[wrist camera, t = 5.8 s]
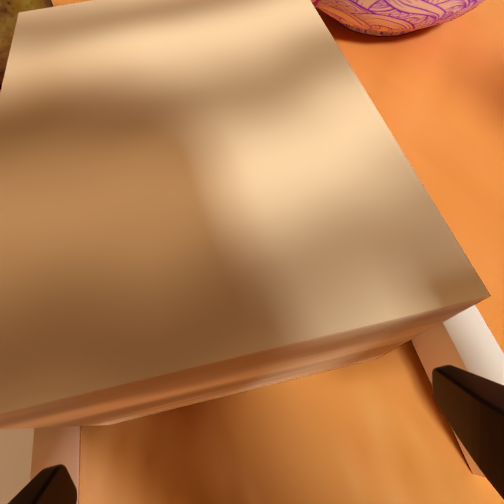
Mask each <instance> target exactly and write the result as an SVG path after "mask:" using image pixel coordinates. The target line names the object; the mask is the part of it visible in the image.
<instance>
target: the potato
mask: <svg viewBox="0 0 504 504" xmlns="http://www.w3.org/2000/svg"><path fill="white" fill-rule="evenodd" d="M49 7H53V4H52V2H51V0H0V84H1V83H2V82H3V79H4V75H5V70H6V66H7V61H8V57H9V53H10V48H11V44H12V40H13V35H14V31H15V27H16V22H17V18H18V14H19V12H25V11H31V10H37V9H43V8H49Z"/></svg>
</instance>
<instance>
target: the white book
mask: <svg viewBox="0 0 504 504" xmlns="http://www.w3.org/2000/svg"><path fill="white" fill-rule="evenodd" d="M411 341H412V343H413V346H414V348H415V350H416V352H417V354H418V356H419V359H420V361H421V363H422V365H423V367H424V369H425V372H426V374H427V376H428V378H429V380H430V382H431V385H432V371H433V369H434V368H436V367H440V366H444V365H452V366H455V367H458V368H460V369H463V370H466V371H468V372H471V373H473V374H476V375H479V376H481V377H484V378H486V379H489V380H491V381H494V382H497V383H499V384H502V385H504V354H503V352H502V350H501V348H500V347H499V345H498V343H497V342H496V340H495V338H494V336H493V335H492V333H491V331H490V330H489V328H488V326H487V324H486V323H485V321H484V319H483V318H482V316H481V314H480V313H479V311H478V309H477V307H476V306H475V305H473V306H471V307H470V308H468V309H466V310H464V311H462V312H460V313H459V314H457V315H455V316H453V317H451V318H450V319H448V320H446V321H444V322H442V323H441V324H439V325H437V326H435V327H433V328H432V329H430V330H428V331H426V332H424V333H422V334H421V335H419V336H417V337H415V338H413V339H412V340H411ZM452 430H453V429H452ZM453 432H454V431H453ZM454 435H455V437H456V439H457V441H458V443H459V445H460V448H461V450H462V452H463V454H464V456H465V458H466V461H467V463H468V465H469V467H470V469H471V471H472V474H475V475H479V476H482V477H485V475H484V474H483V473H482V471H481V470H480V469H479V468H478V466H477V465H476V463H475V462H474V460H473V459H472V458H471V456H470V455H469V453H468V452H467V450H466V449H465V447H464V446H463V444H462V443H461V441H460V440H459V438H458V437H457V435H456V434H455V432H454ZM79 452H80V426H73V427H48V428H23V429H0V504H8V503H9V502H10V501H11V500H12V499H13V498H14V497H15V496H16V495H17V494H18V493H19V492H20V491H21V490H22V489H23V488H24V487H25V486H26V485H27V484H28V483H29V482H30V481H31V480H32V479H33V478H34V477H35V476H36V475H37V474H38V473H39V472H40V471H41V470H43V469H44V468H47V467H50V466H54V465H58V464H63V465H64V466H66V468H67V470H68V472H69V474H70V476H71V478H72V480H73V482H74V484H75V486H76V489H77V503H76V504H78V497H79Z"/></svg>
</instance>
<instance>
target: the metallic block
mask: <svg viewBox="0 0 504 504" xmlns="http://www.w3.org/2000/svg"><path fill="white" fill-rule="evenodd" d="M489 296H491V295H490V294H489V292H488V290H487V289H486V287H485V285H484V284H483V282H482V281H481V279H480V277H479V276H478V274H477V272H476V271H475V269H474V267H473V266H472V264H471V263H470V261H469V259H468V258H467V256H466V254H465V253H464V251H463V249H462V248H461V246H460V245H459V243H458V241H457V240H456V238H455V236H454V235H453V233H452V231H451V230H450V228H449V227H448V225H447V223H446V222H445V220H444V218H443V217H442V215H441V213H440V212H439V210H438V209H437V207H436V205H435V204H434V202H433V200H432V199H431V197H430V195H429V194H428V192H427V191H426V189H425V187H424V186H423V184H422V182H421V181H420V179H419V177H418V176H417V174H416V173H415V171H414V169H413V168H412V166H411V164H410V163H409V161H408V159H407V158H406V156H405V155H404V153H403V151H402V150H401V148H400V146H399V145H398V143H397V141H396V140H395V138H394V137H393V135H392V133H391V132H390V130H389V128H388V127H387V125H386V123H385V122H384V120H383V118H382V117H381V115H380V114H379V112H378V110H377V109H376V107H375V105H374V104H373V102H372V100H371V99H370V97H369V96H368V94H367V92H366V91H365V89H364V87H363V86H362V84H361V82H360V81H359V79H358V78H357V76H356V74H355V73H354V71H353V69H352V68H351V66H350V64H349V63H348V61H347V60H346V58H345V56H344V55H343V53H342V51H341V50H340V48H339V46H338V45H337V43H336V42H335V40H334V38H333V37H332V35H331V33H330V32H329V30H328V28H327V27H326V25H325V24H324V22H323V20H322V19H321V17H320V15H319V14H318V12H317V10H316V9H315V7H314V6H313V4H312V2H311V1H310V0H92V1H86V2H80V3H74V4H68V5H62V6H55V7H49V8H43V9H37V10H31V11H25V12H19V14H18V18H17V22H16V27H15V31H14V35H13V40H12V44H11V48H10V53H9V57H8V61H7V66H6V70H5V75H4V79H3V83H2V88H1V92H0V429H23V428H48V427H73V426H98V425H111V424H115V423H119V422H123V421H127V420H131V419H135V418H139V417H144V416H148V415H152V414H156V413H160V412H164V411H168V410H172V409H176V408H180V407H184V406H188V405H192V404H196V403H200V402H204V401H208V400H212V399H216V398H220V397H224V396H228V395H232V394H236V393H240V392H244V391H248V390H253V389H257V388H261V387H265V386H269V385H273V384H277V383H281V382H285V381H289V380H293V379H297V378H301V377H305V376H309V375H313V374H317V373H321V372H325V371H329V370H333V369H337V368H341V367H345V366H349V365H353V364H357V363H362V362H366V361H370V360H374V359H377V358H379V357H381V356H383V355H384V354H386V353H388V352H390V351H392V350H394V349H395V348H397V347H399V346H401V345H403V344H404V343H406V342H408V341H410V340H412V339H413V338H415V337H417V336H419V335H421V334H422V333H424V332H426V331H428V330H430V329H432V328H433V327H435V326H437V325H439V324H441V323H442V322H444V321H446V320H448V319H450V318H451V317H453V316H455V315H457V314H459V313H460V312H462V311H464V310H466V309H468V308H470V307H471V306H473V305H475V304H477V303H479V302H480V301H482V300H484V299H486V298H488V297H489Z"/></svg>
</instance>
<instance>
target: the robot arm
mask: <svg viewBox="0 0 504 504" xmlns="http://www.w3.org/2000/svg"><path fill="white" fill-rule="evenodd" d="M432 394H433V399H434V401H435V403H436V405H437V407H438V408H439V410H440V411H441V413H442V414H443V416H444V417H445V419H446V420H447V422H448V423H449V425H450V426H451V428H452V429H453V431H454V432H455V434H456V435H457V437H458V438H459V440H460V441H461V443H462V444H463V446H464V447H465V449H466V450H467V452H468V453H469V455H470V456H471V458H472V459H473V460H474V462H475V463H476V465H477V466H478V468H479V469H480V470H481V471H482V473H483V474H484V475H485V477H486V478H487V479H488V481H489V482H490V483H491V484H492V486H493V487H494V488H495V489H496V491H497V492H498V493H499V494H500V496H501V497H502V498H503V499H504V385H502V384H499V383H497V382H494V381H491V380H489V379H486V378H484V377H481V376H479V375H476V374H473V373H471V372H468V371H466V370H463V369H460V368H458V367H455V366H452V365H444V366H440V367H436V368H434V369H433V371H432ZM76 503H77V489H76V486H75V484H74V482H73V480H72V478H71V476H70V474H69V472H68V470H67V468H66V466H64V465H63V464H58V465H54V466H50V467H47V468H44V469H43V470H41V471H40V472H39V473H38V474H37V475H36V476H35V477H34V478H33V479H32V480H31V481H30V482H29V483H28V484H27V485H26V486H25V487H24V488H23V489H22V490H21V491H20V492H19V493H18V494H17V495H16V496H15V497H14V498H13V499H12V500H11V501H10V502H9V503H8V504H76Z"/></svg>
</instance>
